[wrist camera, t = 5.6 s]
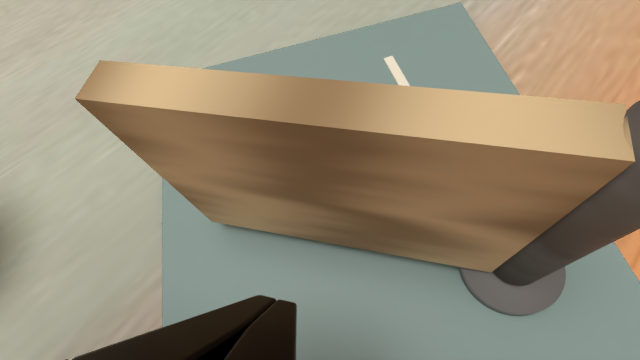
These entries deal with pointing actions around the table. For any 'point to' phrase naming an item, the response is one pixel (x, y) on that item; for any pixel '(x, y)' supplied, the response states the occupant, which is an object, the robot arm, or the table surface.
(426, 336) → the board
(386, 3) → the table surface
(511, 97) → the gate
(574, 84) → the table surface
